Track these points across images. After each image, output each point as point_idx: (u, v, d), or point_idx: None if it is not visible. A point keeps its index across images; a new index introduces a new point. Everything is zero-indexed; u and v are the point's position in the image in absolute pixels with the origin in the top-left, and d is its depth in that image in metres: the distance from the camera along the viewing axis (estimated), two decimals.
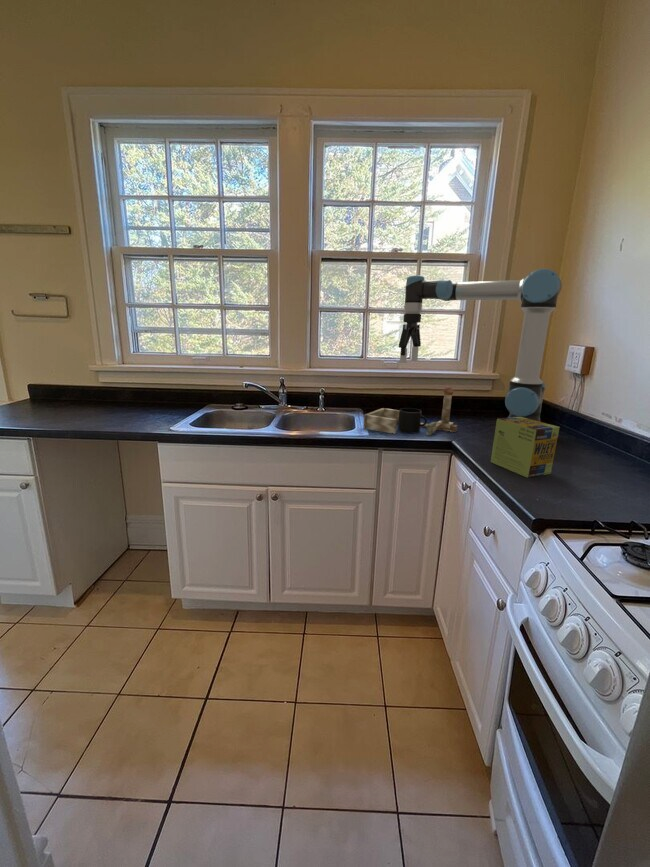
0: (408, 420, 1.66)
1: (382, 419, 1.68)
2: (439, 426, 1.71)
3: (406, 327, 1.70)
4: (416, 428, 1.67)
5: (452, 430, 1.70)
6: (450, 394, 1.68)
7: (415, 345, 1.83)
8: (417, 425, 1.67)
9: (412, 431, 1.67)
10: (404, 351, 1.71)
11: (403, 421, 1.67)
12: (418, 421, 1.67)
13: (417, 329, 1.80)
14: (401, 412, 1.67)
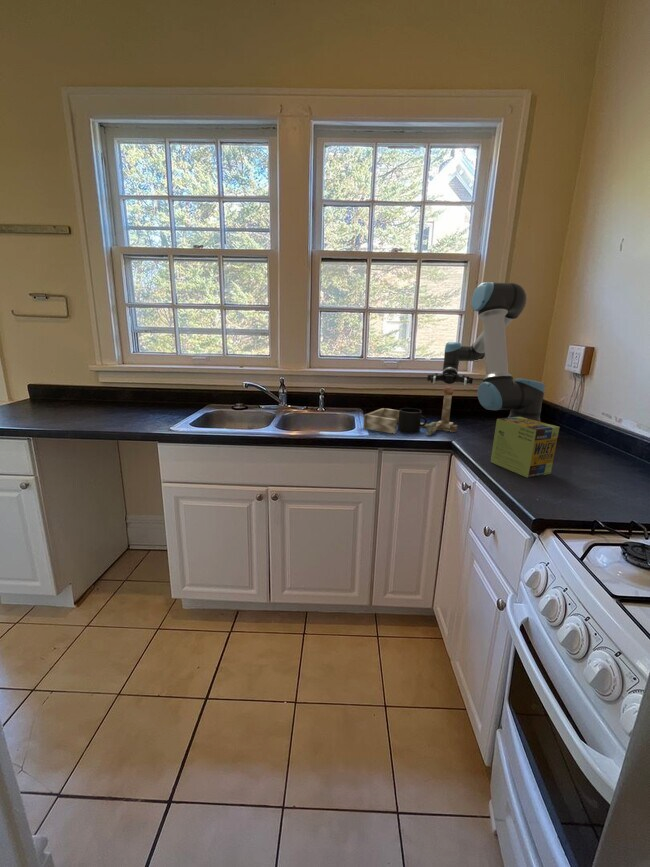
0: (408, 420, 1.66)
1: (382, 419, 1.68)
2: (439, 426, 1.71)
3: None
4: (416, 428, 1.67)
5: (452, 430, 1.70)
6: (450, 394, 1.68)
7: None
8: (417, 425, 1.67)
9: (412, 431, 1.67)
10: (432, 377, 1.84)
11: (403, 421, 1.67)
12: (418, 421, 1.67)
13: (462, 376, 1.88)
14: (401, 412, 1.67)
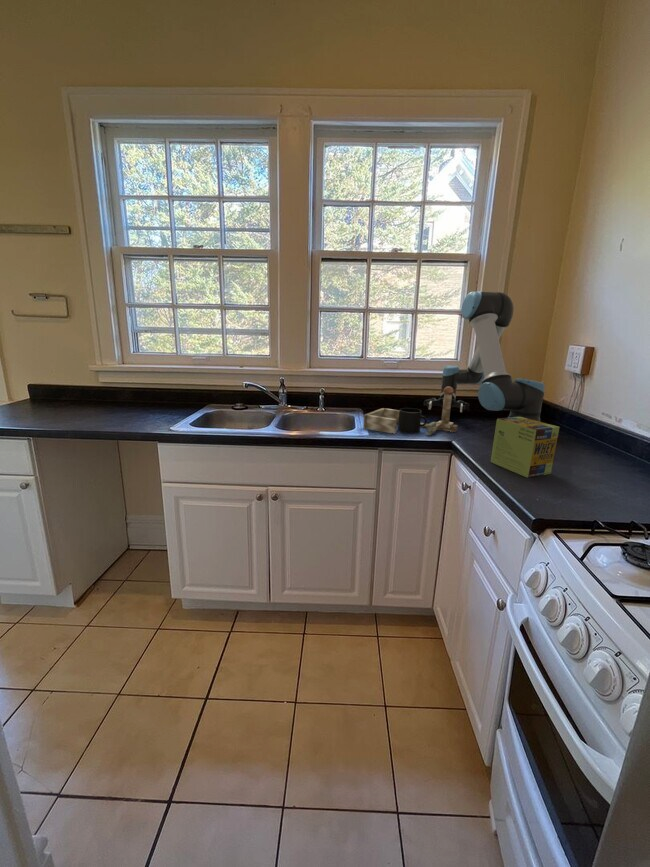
0: (408, 420, 1.66)
1: (382, 419, 1.68)
2: (439, 426, 1.71)
3: (432, 399, 1.92)
4: (416, 428, 1.67)
5: (452, 430, 1.70)
6: (450, 394, 1.68)
7: None
8: (417, 425, 1.67)
9: (412, 431, 1.67)
10: (428, 402, 1.83)
11: (403, 421, 1.67)
12: (418, 421, 1.67)
13: (459, 401, 1.87)
14: (401, 412, 1.67)
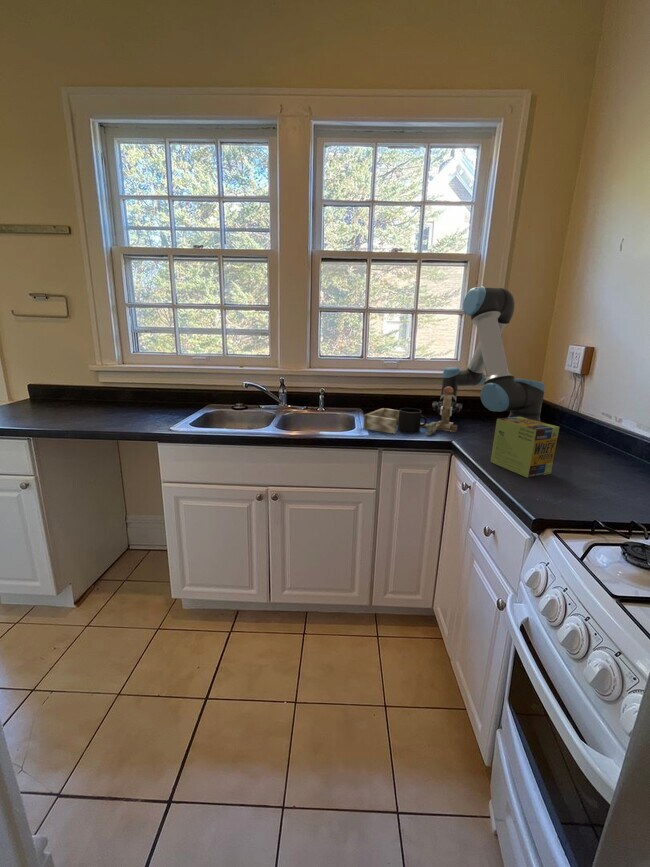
0: (408, 420, 1.66)
1: (382, 419, 1.68)
2: (439, 426, 1.71)
3: (433, 403, 1.82)
4: (416, 428, 1.67)
5: (452, 430, 1.70)
6: (450, 394, 1.68)
7: None
8: (417, 425, 1.67)
9: (412, 431, 1.67)
10: (439, 407, 1.72)
11: (403, 421, 1.67)
12: (418, 421, 1.67)
13: (458, 405, 1.79)
14: (401, 412, 1.67)
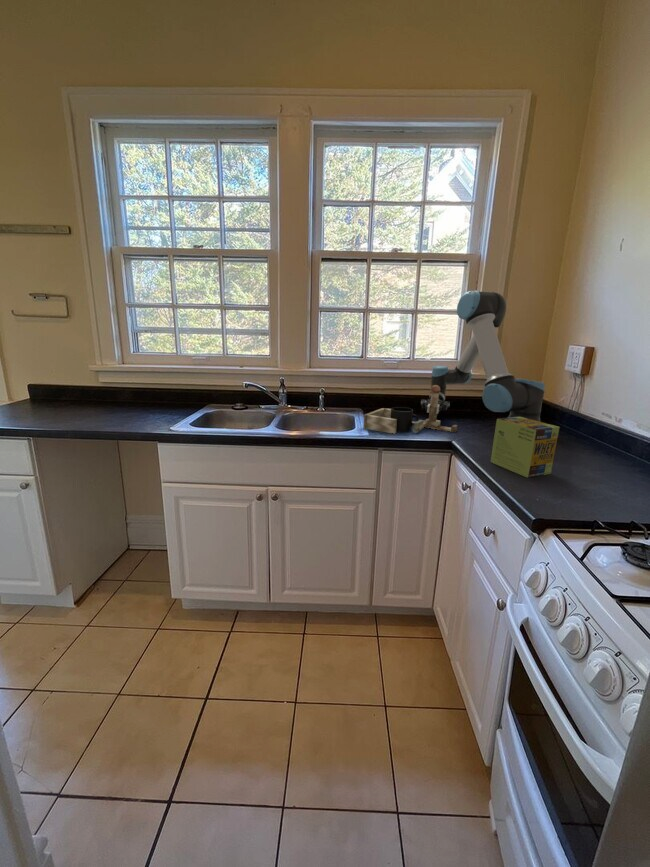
0: (401, 419, 1.67)
1: (382, 419, 1.68)
2: (426, 424, 1.74)
3: (421, 401, 1.86)
4: (408, 427, 1.69)
5: (452, 430, 1.70)
6: (437, 392, 1.71)
7: None
8: (409, 424, 1.69)
9: (405, 430, 1.68)
10: (426, 405, 1.75)
11: None
12: (410, 420, 1.69)
13: None
14: (393, 411, 1.68)
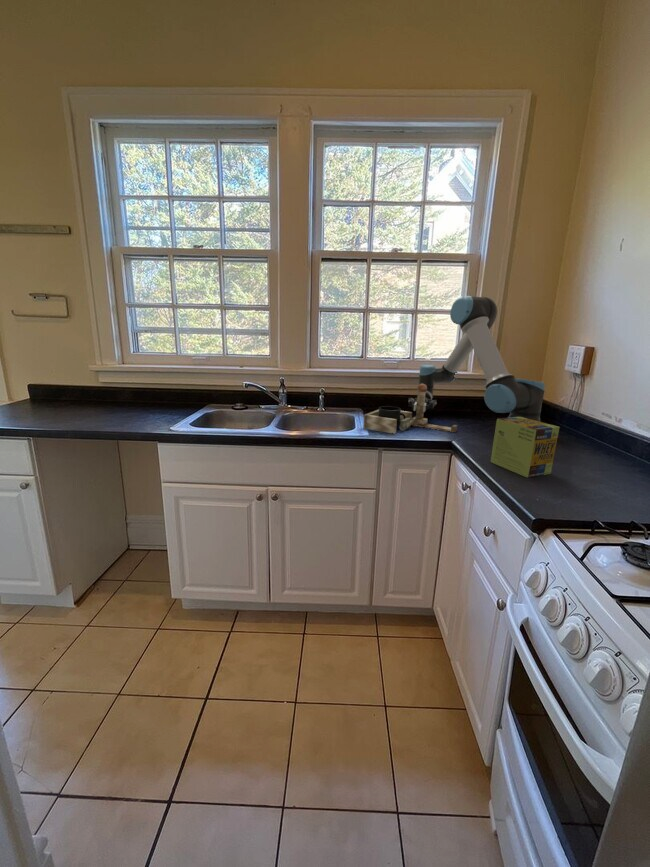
0: None
1: (382, 419, 1.68)
2: (413, 422, 1.77)
3: (409, 399, 1.89)
4: (398, 425, 1.71)
5: (452, 430, 1.70)
6: (424, 391, 1.74)
7: None
8: (398, 422, 1.71)
9: None
10: (413, 403, 1.78)
11: None
12: (399, 418, 1.71)
13: (432, 401, 1.85)
14: (383, 411, 1.69)
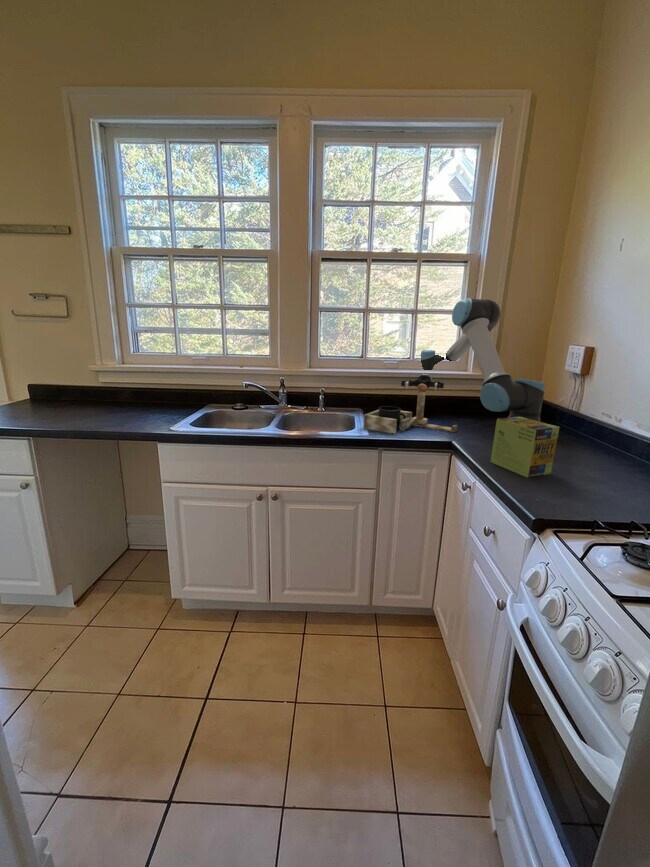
0: None
1: (382, 419, 1.68)
2: (413, 422, 1.77)
3: None
4: (398, 425, 1.71)
5: (452, 430, 1.70)
6: (424, 391, 1.74)
7: None
8: (398, 422, 1.71)
9: None
10: (405, 382, 1.93)
11: None
12: (399, 418, 1.71)
13: (435, 382, 1.97)
14: (383, 411, 1.69)
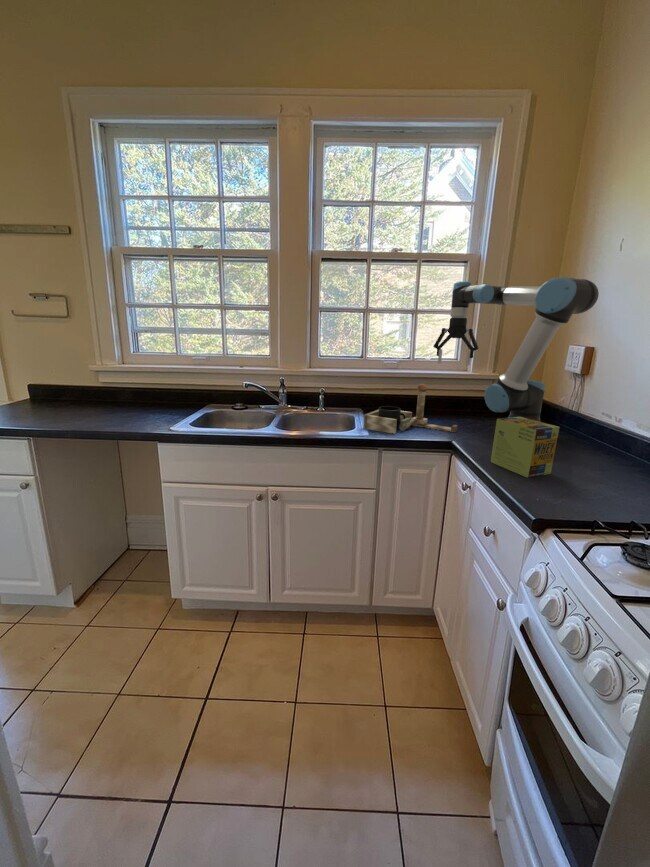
0: None
1: (382, 419, 1.68)
2: (413, 422, 1.77)
3: None
4: (398, 425, 1.71)
5: (452, 430, 1.70)
6: (424, 391, 1.74)
7: None
8: (398, 422, 1.71)
9: None
10: (438, 352, 1.89)
11: None
12: (399, 418, 1.71)
13: (469, 333, 1.79)
14: (383, 411, 1.69)
